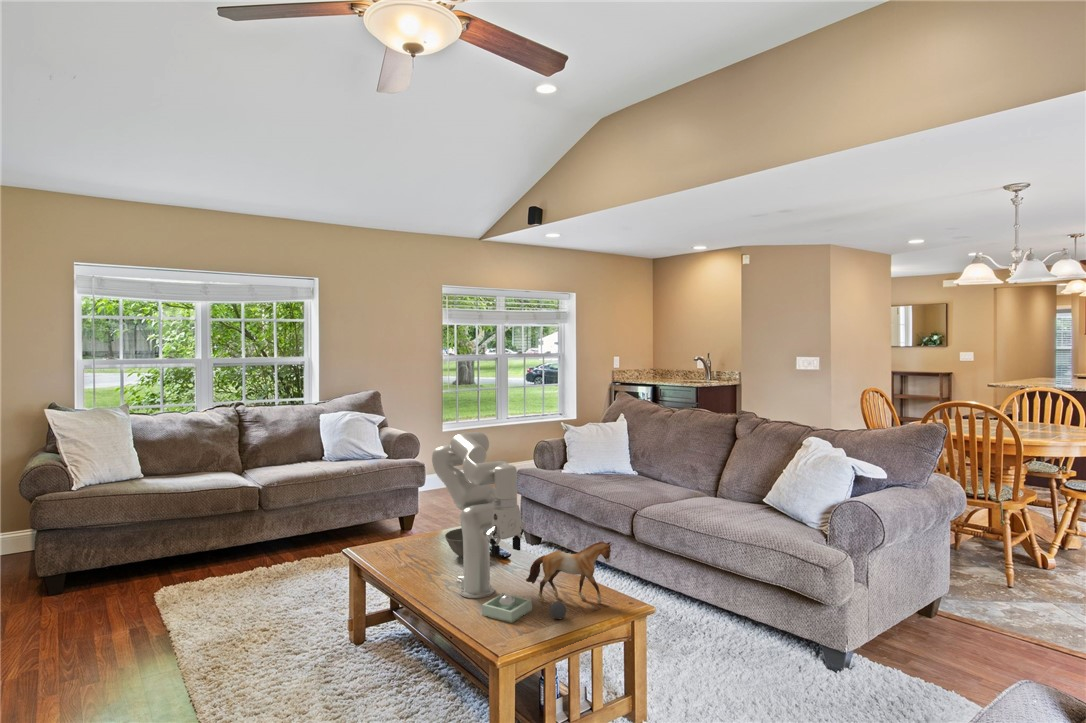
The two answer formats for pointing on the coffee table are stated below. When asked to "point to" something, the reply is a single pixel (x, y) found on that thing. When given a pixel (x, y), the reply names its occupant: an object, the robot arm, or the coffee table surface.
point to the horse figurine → (570, 566)
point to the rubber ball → (558, 610)
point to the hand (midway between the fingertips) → (506, 553)
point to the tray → (505, 615)
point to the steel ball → (507, 602)
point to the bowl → (457, 540)
